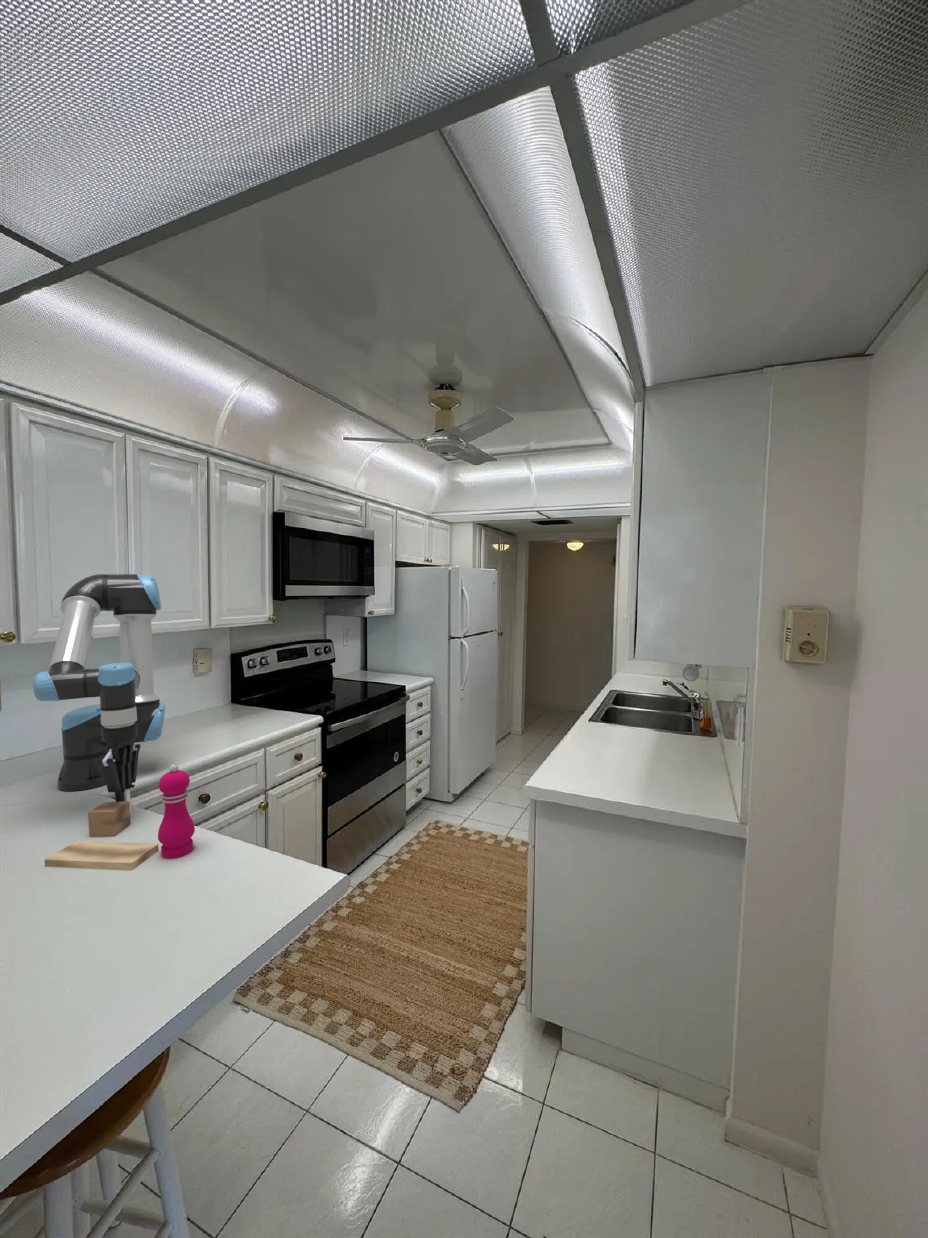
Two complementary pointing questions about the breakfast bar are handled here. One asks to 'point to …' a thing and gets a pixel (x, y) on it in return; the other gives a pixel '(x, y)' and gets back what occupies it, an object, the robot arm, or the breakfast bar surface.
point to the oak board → (102, 855)
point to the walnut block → (109, 818)
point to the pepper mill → (175, 815)
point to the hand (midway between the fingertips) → (123, 815)
